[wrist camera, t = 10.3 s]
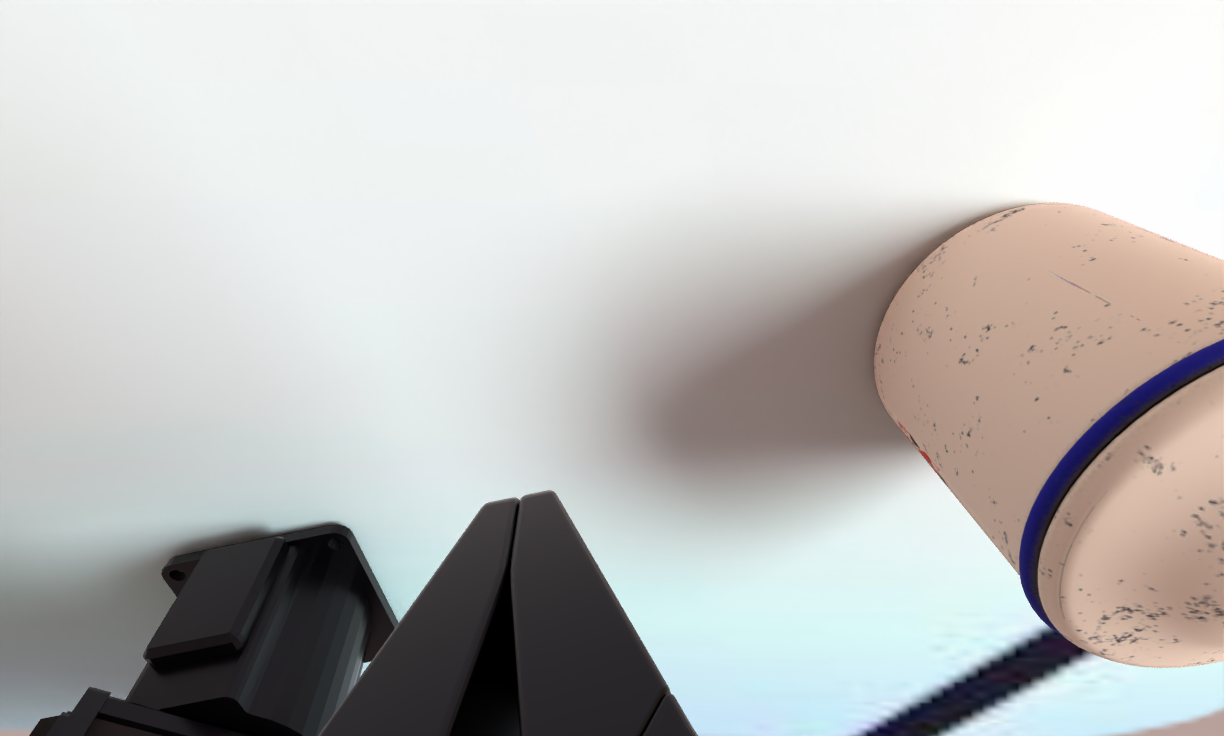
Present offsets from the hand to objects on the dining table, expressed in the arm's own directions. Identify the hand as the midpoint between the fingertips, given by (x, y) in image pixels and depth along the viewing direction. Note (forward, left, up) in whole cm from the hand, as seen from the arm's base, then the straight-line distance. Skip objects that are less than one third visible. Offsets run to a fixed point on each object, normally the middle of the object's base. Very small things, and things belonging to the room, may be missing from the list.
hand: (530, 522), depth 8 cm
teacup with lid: (-7, -15, -12) cm, 21 cm away
